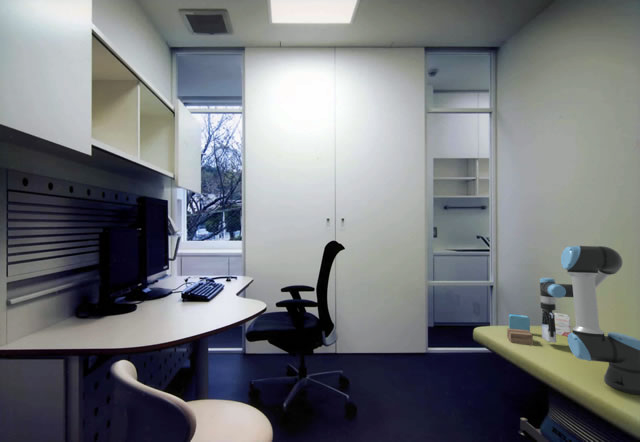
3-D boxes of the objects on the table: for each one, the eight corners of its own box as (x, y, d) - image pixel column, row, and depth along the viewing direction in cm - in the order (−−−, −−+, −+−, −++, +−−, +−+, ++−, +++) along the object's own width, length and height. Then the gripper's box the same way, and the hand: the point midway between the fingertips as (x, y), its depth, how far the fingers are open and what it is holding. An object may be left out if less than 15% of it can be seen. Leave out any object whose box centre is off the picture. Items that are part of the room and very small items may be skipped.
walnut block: (532, 344, 192) (532, 335, 192) (510, 342, 196) (510, 333, 197) (528, 339, 202) (527, 330, 202) (507, 337, 206) (507, 328, 206)
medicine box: (556, 342, 186) (556, 328, 187) (548, 342, 187) (547, 327, 188) (549, 338, 194) (549, 324, 195) (541, 337, 195) (541, 324, 195)
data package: (529, 333, 214) (529, 316, 214) (530, 335, 210) (529, 317, 210) (509, 330, 220) (508, 313, 220) (509, 332, 216) (509, 315, 216)
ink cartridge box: (571, 335, 209) (570, 313, 210) (569, 337, 206) (569, 315, 206) (555, 332, 216) (555, 311, 216) (554, 333, 212) (553, 312, 213)
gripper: (535, 299, 203) (536, 333, 202) (546, 306, 183) (547, 344, 182) (549, 299, 200) (550, 335, 199) (561, 307, 181) (563, 346, 180)
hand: (549, 339), depth 191 cm, fingers closed on medicine box, 8 cm apart
